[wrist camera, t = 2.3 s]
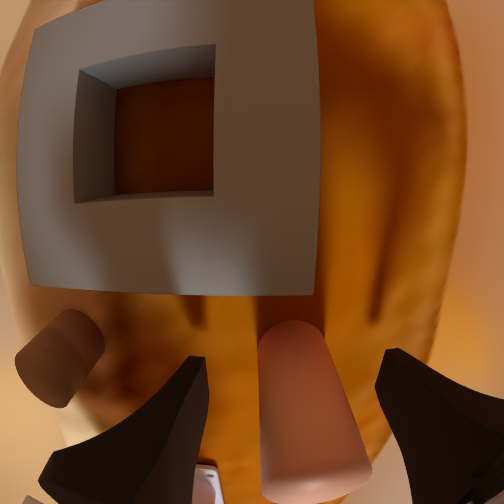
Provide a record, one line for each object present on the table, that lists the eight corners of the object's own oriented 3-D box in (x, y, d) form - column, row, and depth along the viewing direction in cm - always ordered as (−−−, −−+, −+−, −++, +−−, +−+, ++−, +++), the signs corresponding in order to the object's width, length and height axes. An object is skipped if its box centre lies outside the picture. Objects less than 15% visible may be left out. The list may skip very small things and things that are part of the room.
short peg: (110, 363, 13) (78, 414, 9) (66, 354, 13) (31, 398, 9) (96, 312, 12) (52, 359, 8) (51, 306, 12) (6, 345, 8)
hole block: (297, 263, 11) (313, 295, 8) (70, 261, 11) (30, 284, 8) (297, 20, 8) (311, -19, 5) (72, 49, 8) (35, 29, 5)
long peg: (320, 372, 13) (355, 497, 6) (257, 374, 13) (259, 507, 6) (328, 318, 12) (387, 449, 5) (258, 320, 12) (262, 464, 5)
